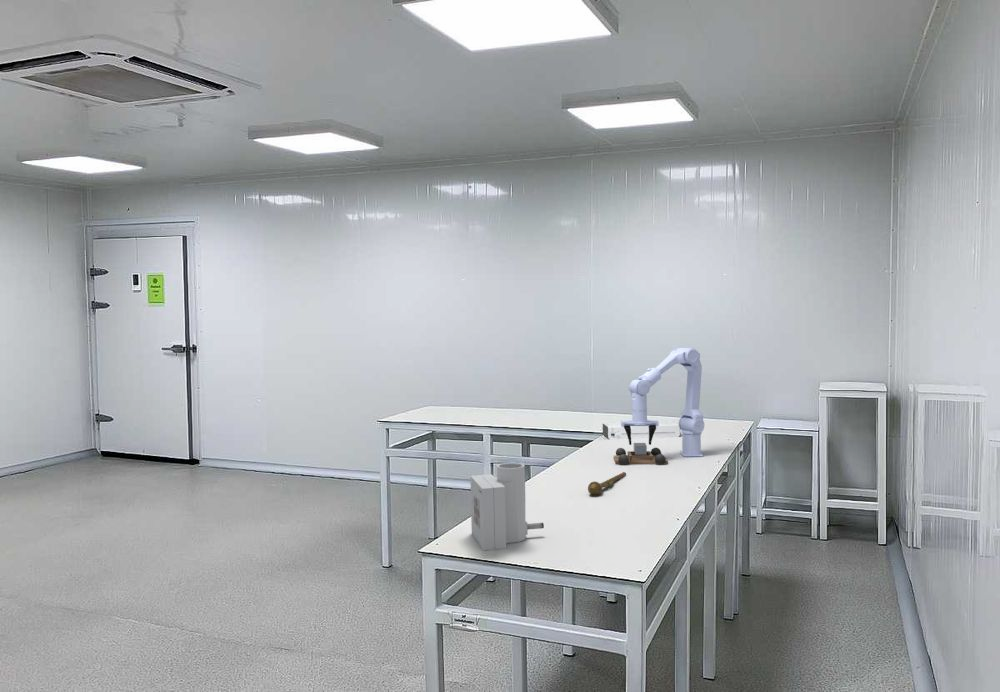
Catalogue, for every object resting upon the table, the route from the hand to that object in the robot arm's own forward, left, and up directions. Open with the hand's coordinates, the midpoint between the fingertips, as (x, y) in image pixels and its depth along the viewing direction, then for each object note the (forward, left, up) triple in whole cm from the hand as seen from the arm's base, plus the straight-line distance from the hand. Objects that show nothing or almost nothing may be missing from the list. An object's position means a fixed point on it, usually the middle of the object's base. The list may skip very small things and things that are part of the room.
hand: (640, 444), depth 322 cm
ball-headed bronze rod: (+42, -15, -7) cm, 45 cm away
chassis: (0, 0, -7) cm, 7 cm away
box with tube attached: (+105, -45, -7) cm, 114 cm away
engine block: (0, 0, -5) cm, 5 cm away
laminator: (-58, +6, -7) cm, 59 cm away
